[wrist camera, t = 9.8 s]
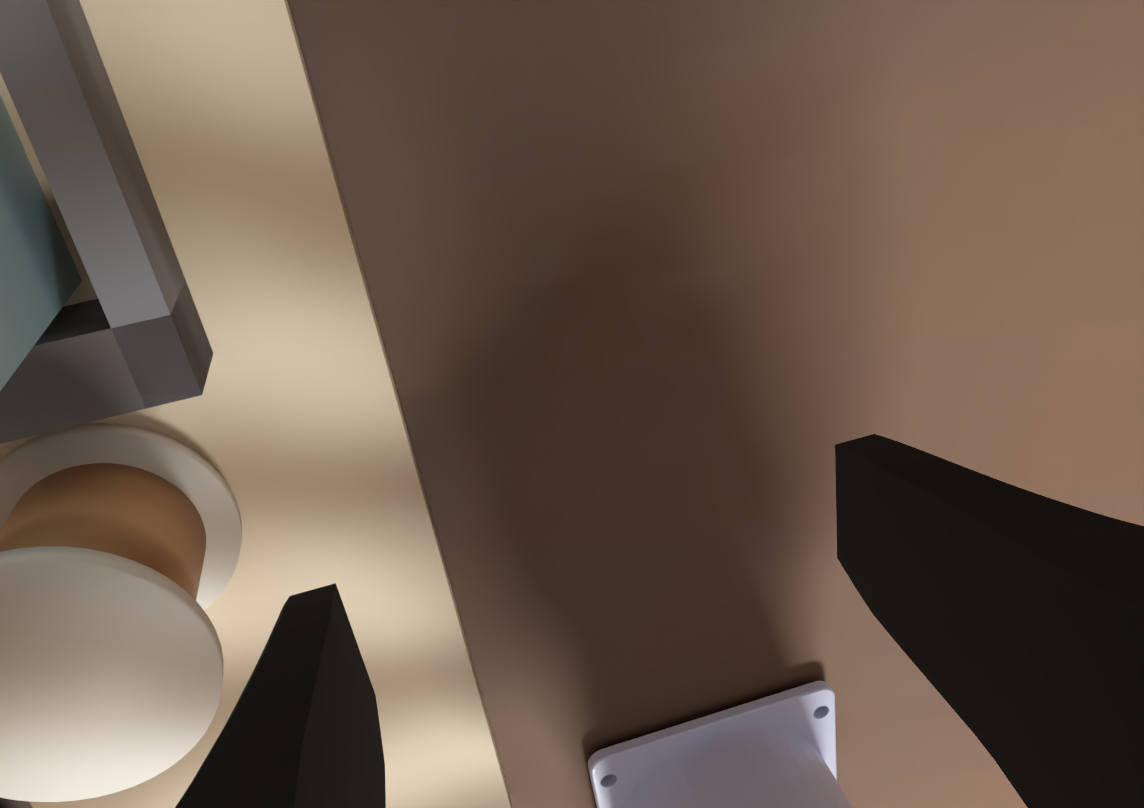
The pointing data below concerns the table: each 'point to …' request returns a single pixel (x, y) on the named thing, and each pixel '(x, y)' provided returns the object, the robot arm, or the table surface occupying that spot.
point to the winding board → (203, 420)
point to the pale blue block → (27, 255)
